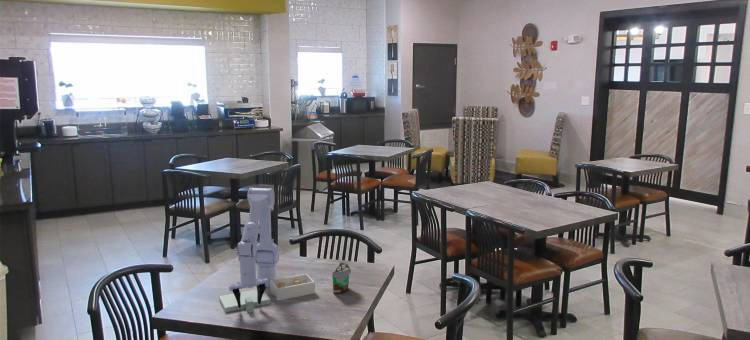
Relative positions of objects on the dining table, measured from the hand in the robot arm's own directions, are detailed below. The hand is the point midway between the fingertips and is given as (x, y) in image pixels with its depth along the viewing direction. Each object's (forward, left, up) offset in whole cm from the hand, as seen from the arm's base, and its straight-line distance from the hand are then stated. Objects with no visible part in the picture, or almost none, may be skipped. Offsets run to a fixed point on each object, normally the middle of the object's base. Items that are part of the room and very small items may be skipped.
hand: (249, 304), depth 206 cm
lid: (-6, 0, -2) cm, 6 cm away
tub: (-8, +20, -2) cm, 22 cm away
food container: (-1, +40, -2) cm, 40 cm away
